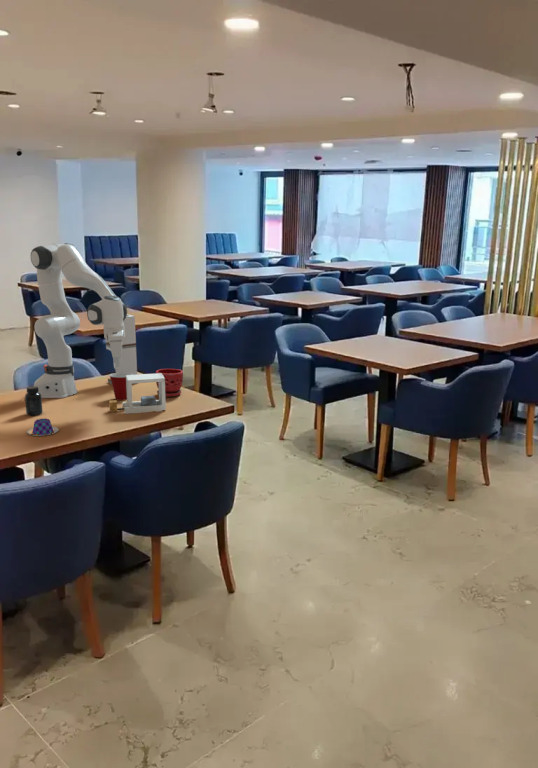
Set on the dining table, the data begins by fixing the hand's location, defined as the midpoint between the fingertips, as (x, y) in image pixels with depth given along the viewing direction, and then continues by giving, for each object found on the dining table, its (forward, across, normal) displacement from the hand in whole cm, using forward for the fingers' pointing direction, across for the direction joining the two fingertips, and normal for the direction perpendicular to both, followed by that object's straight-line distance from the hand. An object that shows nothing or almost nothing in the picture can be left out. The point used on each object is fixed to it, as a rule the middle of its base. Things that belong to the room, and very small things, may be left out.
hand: (116, 365), depth 302 cm
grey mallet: (+21, -1, +6) cm, 22 cm away
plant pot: (+21, -24, +25) cm, 41 cm away
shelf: (+21, -1, +11) cm, 24 cm away
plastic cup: (+21, -22, +2) cm, 30 cm away
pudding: (+22, +22, -32) cm, 44 cm away
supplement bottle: (+20, -5, -36) cm, 42 cm away
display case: (+20, -52, +4) cm, 56 cm away
